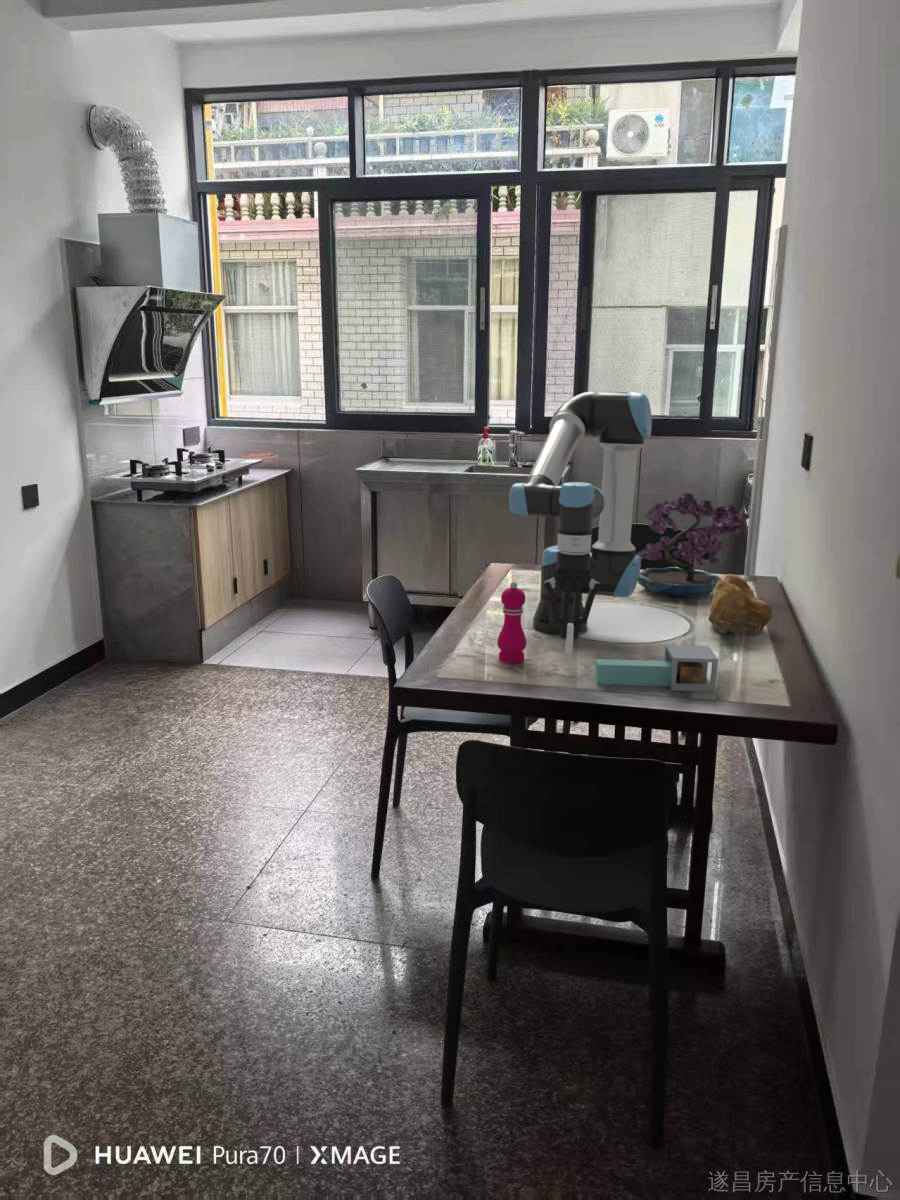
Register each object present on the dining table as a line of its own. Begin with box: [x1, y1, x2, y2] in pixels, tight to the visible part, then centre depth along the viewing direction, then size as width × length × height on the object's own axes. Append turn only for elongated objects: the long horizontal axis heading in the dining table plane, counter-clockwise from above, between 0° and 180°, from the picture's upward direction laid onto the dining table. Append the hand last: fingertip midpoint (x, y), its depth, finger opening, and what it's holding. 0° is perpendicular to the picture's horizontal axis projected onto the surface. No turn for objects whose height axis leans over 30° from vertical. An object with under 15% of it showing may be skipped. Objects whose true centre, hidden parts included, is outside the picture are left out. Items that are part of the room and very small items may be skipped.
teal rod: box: [594, 658, 672, 687], centre depth 213 cm, size 18×4×5 cm, turn 87°
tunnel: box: [663, 644, 719, 693], centre depth 212 cm, size 10×10×8 cm
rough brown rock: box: [708, 573, 773, 636], centre depth 254 cm, size 23×16×15 cm
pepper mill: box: [496, 581, 527, 664], centre depth 226 cm, size 7×7×20 cm
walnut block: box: [676, 661, 704, 684], centre depth 212 cm, size 5×5×5 cm
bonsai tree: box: [635, 492, 750, 600], centre depth 293 cm, size 35×27×32 cm
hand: (568, 651), depth 212 cm, fingers closed
